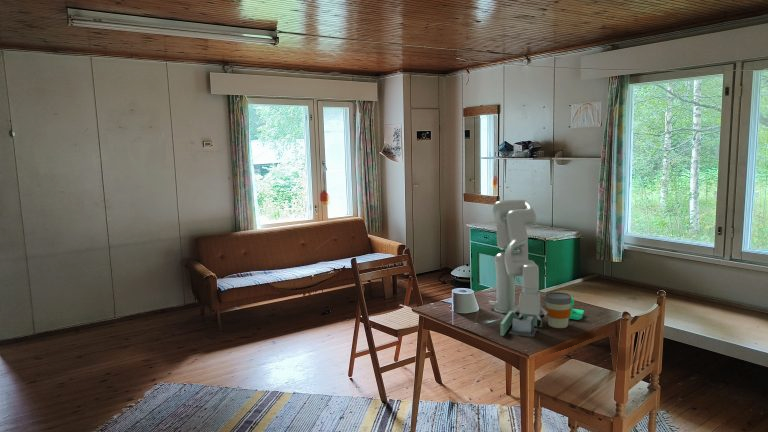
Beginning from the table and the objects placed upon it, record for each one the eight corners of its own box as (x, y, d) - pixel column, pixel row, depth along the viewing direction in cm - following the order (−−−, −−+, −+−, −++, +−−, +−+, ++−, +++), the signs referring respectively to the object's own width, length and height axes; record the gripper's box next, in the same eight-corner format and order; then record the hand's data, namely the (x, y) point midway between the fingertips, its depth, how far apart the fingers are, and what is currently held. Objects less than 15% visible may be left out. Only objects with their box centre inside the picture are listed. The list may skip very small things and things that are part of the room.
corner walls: (500, 335, 248) (500, 323, 247) (509, 322, 266) (509, 310, 265) (534, 340, 241) (534, 327, 241) (541, 326, 259) (541, 314, 259)
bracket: (530, 334, 248) (530, 321, 247) (512, 332, 252) (512, 319, 251) (533, 328, 255) (533, 316, 255) (515, 326, 259) (515, 314, 258)
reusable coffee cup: (577, 327, 256) (577, 297, 254) (554, 330, 252) (554, 300, 250) (561, 319, 268) (561, 290, 266) (539, 322, 264) (539, 293, 262)
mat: (508, 333, 250) (508, 333, 250) (513, 326, 260) (513, 325, 260) (533, 337, 245) (533, 336, 245) (537, 329, 255) (537, 328, 255)
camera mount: (578, 322, 264) (579, 302, 263) (563, 319, 268) (563, 300, 267) (584, 315, 274) (584, 295, 273) (568, 313, 278) (569, 294, 277)
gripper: (509, 290, 250) (509, 326, 252) (548, 293, 243) (547, 331, 245) (513, 286, 257) (513, 321, 259) (550, 289, 249) (550, 326, 252)
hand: (529, 326), depth 252 cm, fingers open, 7 cm apart
